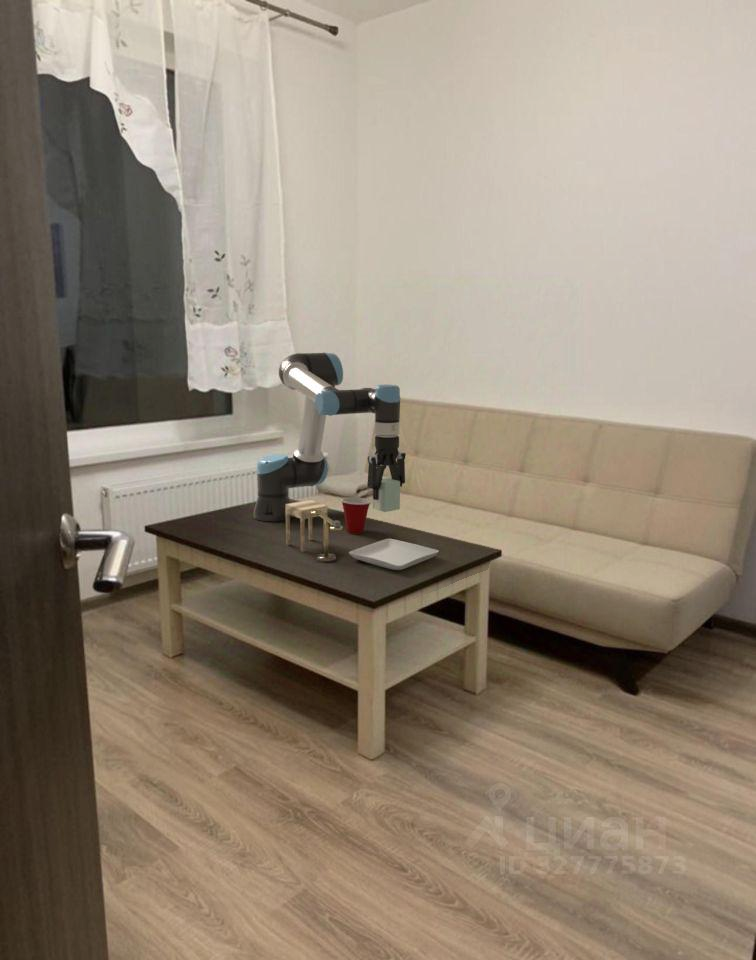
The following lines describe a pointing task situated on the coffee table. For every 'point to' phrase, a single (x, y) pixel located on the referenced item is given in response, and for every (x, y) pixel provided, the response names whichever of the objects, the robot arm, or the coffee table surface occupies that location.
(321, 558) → the balance
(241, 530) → the coffee table surface
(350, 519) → the plastic cup
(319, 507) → the wooden stool
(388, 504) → the block
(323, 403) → the robot arm
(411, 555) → the salad plate
